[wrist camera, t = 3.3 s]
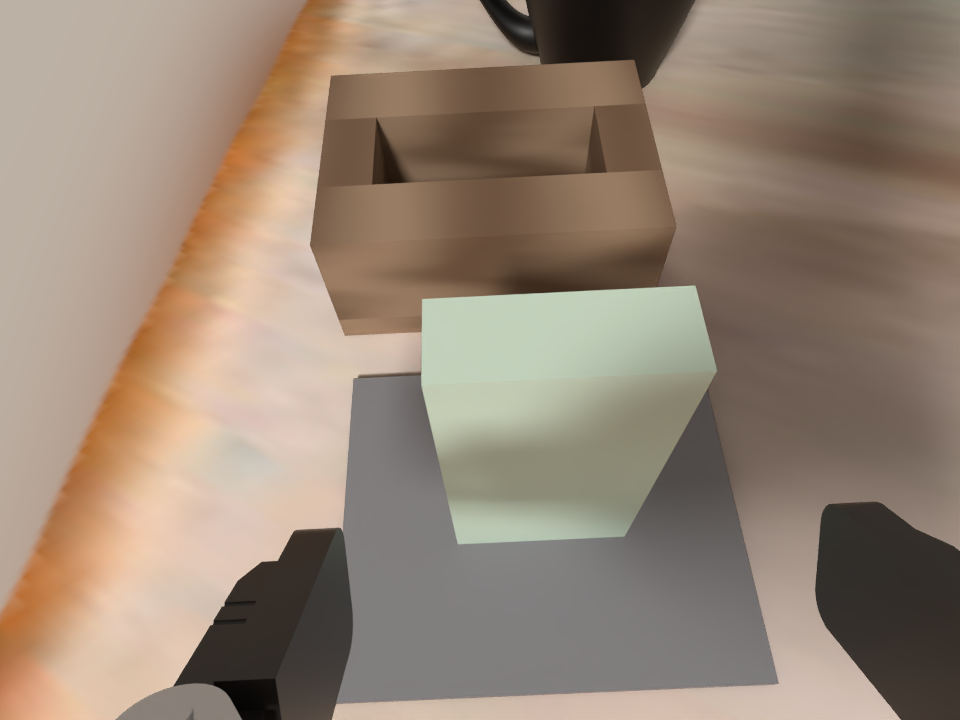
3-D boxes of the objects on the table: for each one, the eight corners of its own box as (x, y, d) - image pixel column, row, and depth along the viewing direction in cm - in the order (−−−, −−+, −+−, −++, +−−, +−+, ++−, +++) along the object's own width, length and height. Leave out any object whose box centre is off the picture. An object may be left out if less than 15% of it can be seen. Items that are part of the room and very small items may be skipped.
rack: (614, 165, 28) (634, 59, 24) (645, 320, 24) (676, 226, 20) (357, 178, 28) (331, 75, 24) (345, 335, 24) (309, 244, 20)
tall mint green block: (615, 479, 21) (695, 285, 12) (624, 536, 20) (717, 371, 11) (456, 487, 21) (422, 298, 12) (458, 544, 20) (421, 385, 11)
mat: (698, 366, 23) (700, 361, 23) (774, 684, 18) (778, 683, 18) (355, 382, 23) (353, 378, 23) (333, 703, 18) (330, 703, 18)
